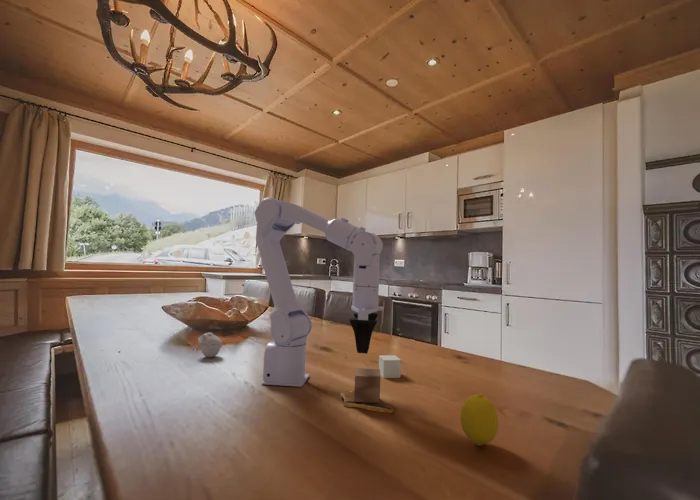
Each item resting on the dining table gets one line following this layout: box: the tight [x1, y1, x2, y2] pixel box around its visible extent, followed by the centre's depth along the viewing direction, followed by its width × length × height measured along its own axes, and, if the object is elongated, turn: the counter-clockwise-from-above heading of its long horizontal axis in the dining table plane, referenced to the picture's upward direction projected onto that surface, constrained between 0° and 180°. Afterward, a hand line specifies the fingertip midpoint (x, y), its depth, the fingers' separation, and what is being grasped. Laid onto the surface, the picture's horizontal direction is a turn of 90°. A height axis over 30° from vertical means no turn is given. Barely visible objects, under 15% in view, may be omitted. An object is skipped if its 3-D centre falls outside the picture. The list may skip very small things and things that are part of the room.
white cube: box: [378, 354, 402, 379], centre depth 84 cm, size 4×4×4 cm
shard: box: [339, 389, 396, 414], centre depth 65 cm, size 11×8×2 cm
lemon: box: [460, 393, 499, 447], centre depth 52 cm, size 6×6×8 cm
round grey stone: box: [197, 332, 223, 358], centre depth 95 cm, size 6×7×7 cm
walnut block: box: [354, 367, 381, 403], centre depth 66 cm, size 5×5×5 cm
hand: (363, 348), depth 71 cm, fingers open, 7 cm apart
